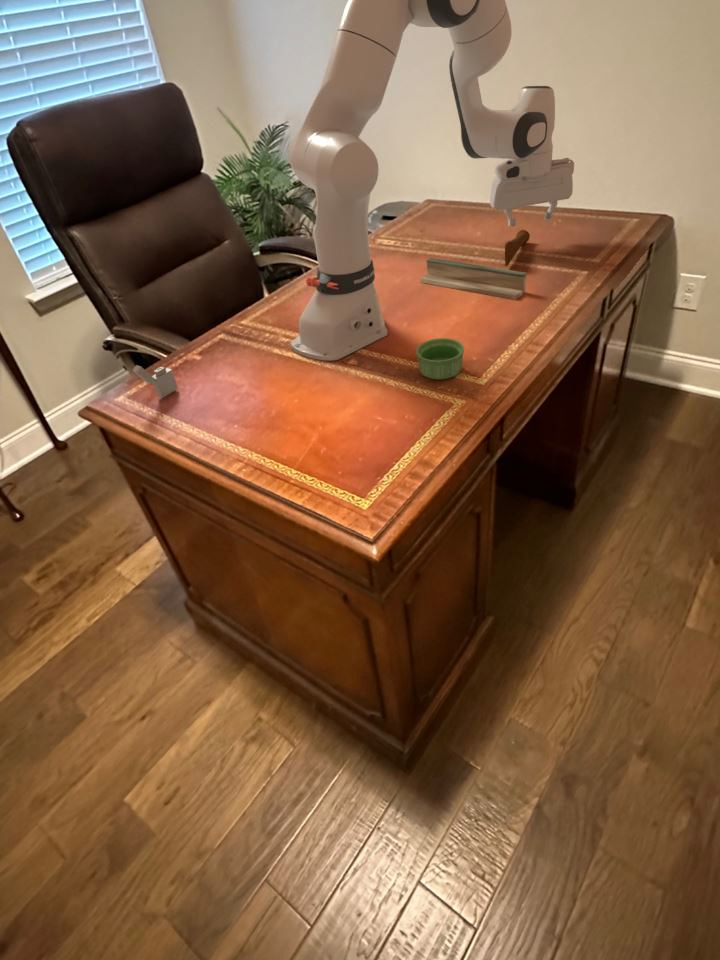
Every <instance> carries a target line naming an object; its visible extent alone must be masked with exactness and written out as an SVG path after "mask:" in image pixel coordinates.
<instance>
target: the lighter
mask: <svg viewBox="0 0 720 960" xmlns="http://www.w3.org/2000/svg"><path fill="white" fill-rule="evenodd" d="M153 371H154V374H153V375H151V374H150V372H148V371H147V370H146V369H144V368H143V366H140V365H137V364H136V365H135V366H134V368H133V369H132V372H133V373H134V374H135V375H137V376H138V377H139V378H140V379H141V380H143V381H144V382H145V383H146V384H149V385H152V384H153V386H154V390H155V392H156V395H157V396H158V397H160V398H165V397H166V396H168V395H170V394H171V393H173V392H175V391H176V390H178V389H179V387H178V384H177V382H176V378H175V376H174V373H173V370H172V369H171V368H168V367H166V366H160V367H158V368H156V369H155V370H153Z"/></svg>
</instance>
